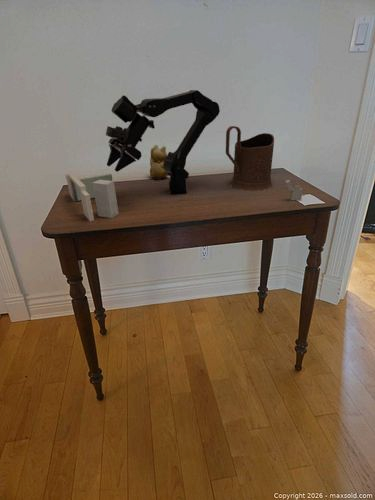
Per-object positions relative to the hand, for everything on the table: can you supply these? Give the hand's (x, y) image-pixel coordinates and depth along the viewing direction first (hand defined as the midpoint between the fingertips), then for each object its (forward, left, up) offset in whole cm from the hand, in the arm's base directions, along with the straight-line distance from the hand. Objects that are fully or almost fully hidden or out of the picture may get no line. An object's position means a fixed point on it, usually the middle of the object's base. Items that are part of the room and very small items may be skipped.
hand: (111, 168), depth 111 cm
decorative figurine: (-16, -33, -14) cm, 40 cm away
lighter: (-66, +6, -14) cm, 68 cm away
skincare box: (+2, +11, -14) cm, 18 cm away
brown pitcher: (-54, -15, -14) cm, 58 cm away
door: (+10, -10, -13) cm, 19 cm away
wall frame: (+13, 0, -14) cm, 19 cm away
